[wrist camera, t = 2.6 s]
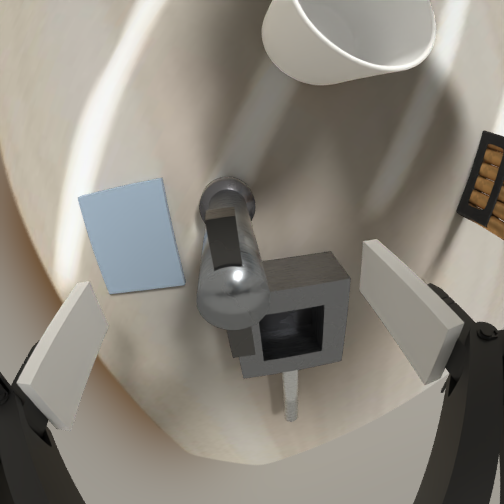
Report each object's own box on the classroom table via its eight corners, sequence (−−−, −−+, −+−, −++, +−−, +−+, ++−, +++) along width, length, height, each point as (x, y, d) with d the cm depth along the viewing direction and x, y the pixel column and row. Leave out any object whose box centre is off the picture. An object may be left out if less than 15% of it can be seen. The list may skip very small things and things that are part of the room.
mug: (368, -9, 16) (436, -49, 6) (350, 99, 21) (429, 97, 11) (277, -39, 15) (308, -106, 5) (250, 73, 20) (272, 37, 10)
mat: (80, 196, 22) (77, 198, 22) (162, 177, 23) (160, 179, 22) (111, 290, 27) (109, 294, 26) (185, 281, 27) (185, 284, 27)
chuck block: (225, 266, 27) (226, 297, 22) (330, 251, 27) (350, 278, 23) (252, 406, 37) (256, 435, 33) (321, 393, 37) (330, 421, 33)
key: (194, 165, 22) (159, 229, 10) (248, 157, 23) (282, 211, 10) (208, 243, 26) (199, 365, 13) (257, 236, 26) (290, 352, 13)
